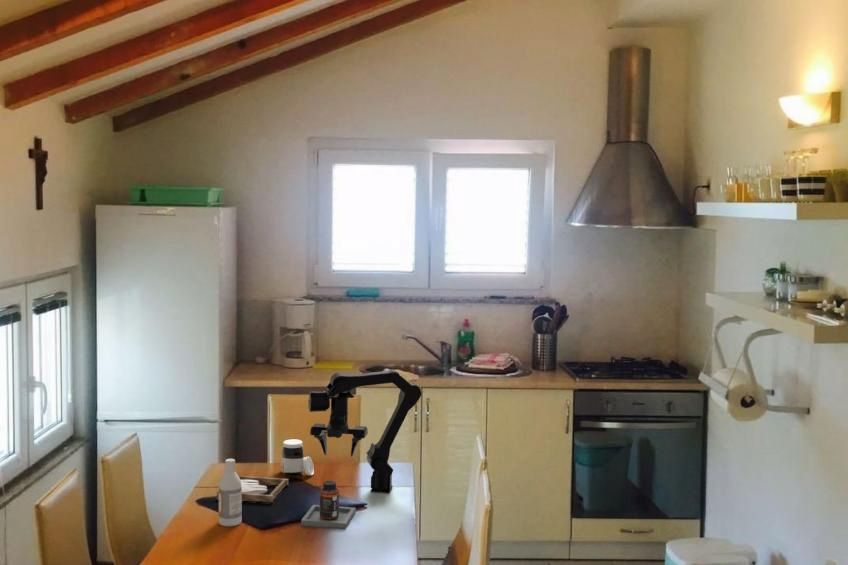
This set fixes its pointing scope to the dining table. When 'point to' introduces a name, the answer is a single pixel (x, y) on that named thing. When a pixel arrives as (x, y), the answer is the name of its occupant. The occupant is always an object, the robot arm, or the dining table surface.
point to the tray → (315, 520)
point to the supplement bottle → (329, 501)
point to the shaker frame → (263, 481)
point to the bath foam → (230, 496)
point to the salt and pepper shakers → (252, 487)
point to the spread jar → (295, 459)
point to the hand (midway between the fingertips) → (338, 455)
